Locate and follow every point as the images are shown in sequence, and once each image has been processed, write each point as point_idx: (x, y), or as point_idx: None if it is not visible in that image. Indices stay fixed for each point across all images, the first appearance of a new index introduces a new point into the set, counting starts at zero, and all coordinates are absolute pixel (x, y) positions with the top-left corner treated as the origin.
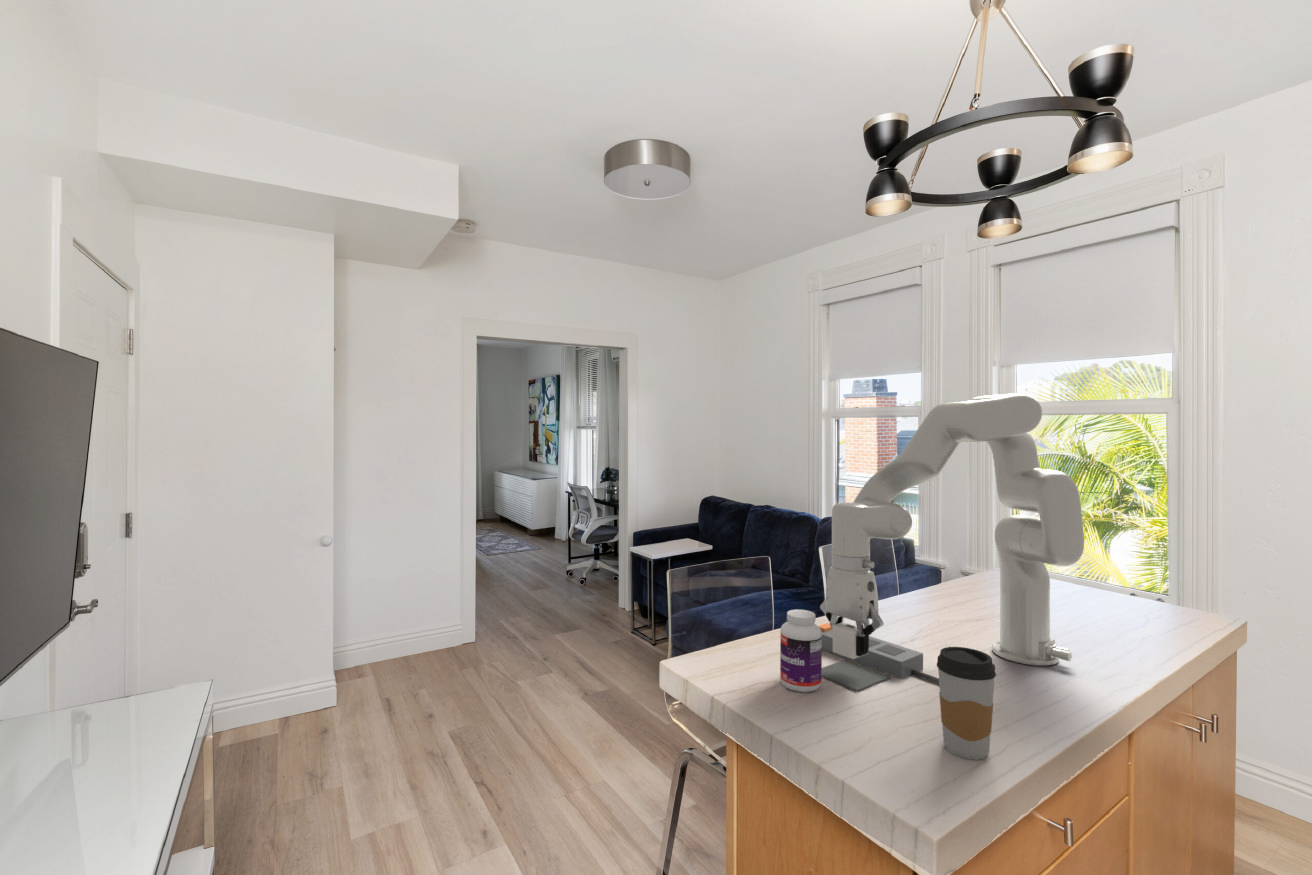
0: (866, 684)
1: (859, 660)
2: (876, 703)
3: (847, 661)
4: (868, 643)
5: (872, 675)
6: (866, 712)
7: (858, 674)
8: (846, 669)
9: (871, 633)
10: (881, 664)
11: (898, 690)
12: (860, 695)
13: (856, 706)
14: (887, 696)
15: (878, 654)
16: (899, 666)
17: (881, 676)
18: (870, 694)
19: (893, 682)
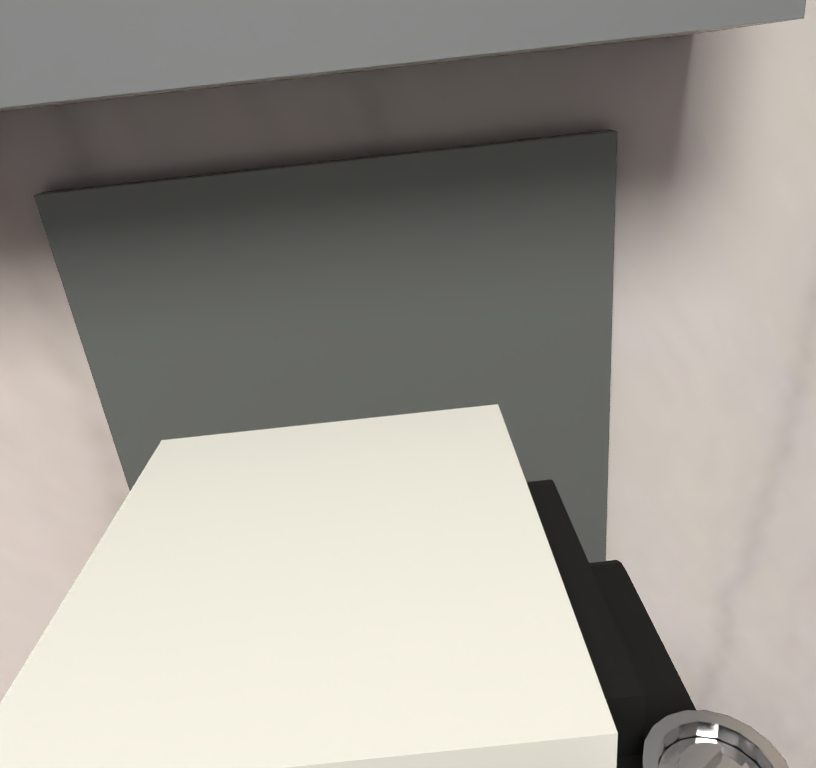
0: (585, 470)
1: (143, 94)
2: (782, 592)
3: (94, 219)
4: (651, 629)
5: (493, 280)
6: (796, 708)
7: (407, 377)
8: (264, 385)
9: (770, 744)
10: (451, 59)
11: (797, 296)
12: (642, 594)
13: (715, 704)
14: (784, 457)
15: (412, 59)
16: (732, 27)
17: (559, 220)
18: (680, 531)
19: (681, 190)
